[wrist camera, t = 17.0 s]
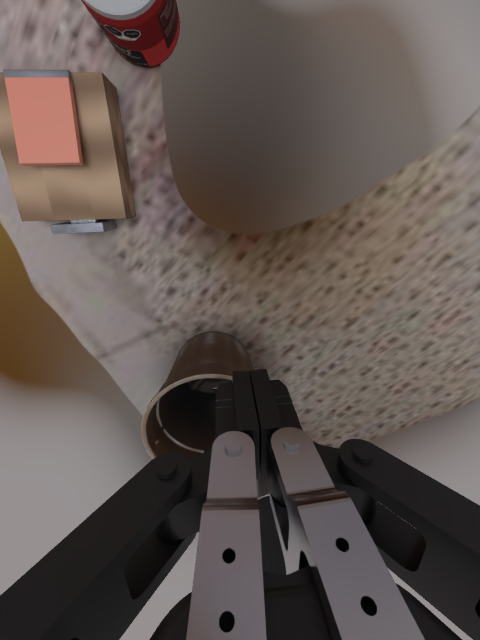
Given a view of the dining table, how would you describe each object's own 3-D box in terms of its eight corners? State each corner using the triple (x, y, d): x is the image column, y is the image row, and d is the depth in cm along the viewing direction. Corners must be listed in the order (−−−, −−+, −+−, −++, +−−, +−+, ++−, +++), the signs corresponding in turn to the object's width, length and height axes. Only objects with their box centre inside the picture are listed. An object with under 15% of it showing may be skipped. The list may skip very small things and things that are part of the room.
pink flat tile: (83, 165, 31) (79, 162, 30) (25, 166, 31) (18, 163, 30) (71, 73, 29) (66, 67, 28) (9, 73, 29) (2, 67, 28)
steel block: (116, 227, 40) (104, 231, 35) (71, 229, 39) (52, 233, 35) (105, 169, 37) (90, 166, 32) (56, 171, 37) (34, 167, 32)
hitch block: (135, 215, 39) (126, 218, 35) (43, 218, 39) (22, 221, 34) (116, 87, 34) (101, 72, 30) (7, 88, 33) (-23, 72, 29)
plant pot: (148, 332, 46) (117, 397, 31) (247, 306, 46) (262, 359, 31) (182, 411, 53) (169, 495, 38) (269, 388, 52) (290, 464, 37)
